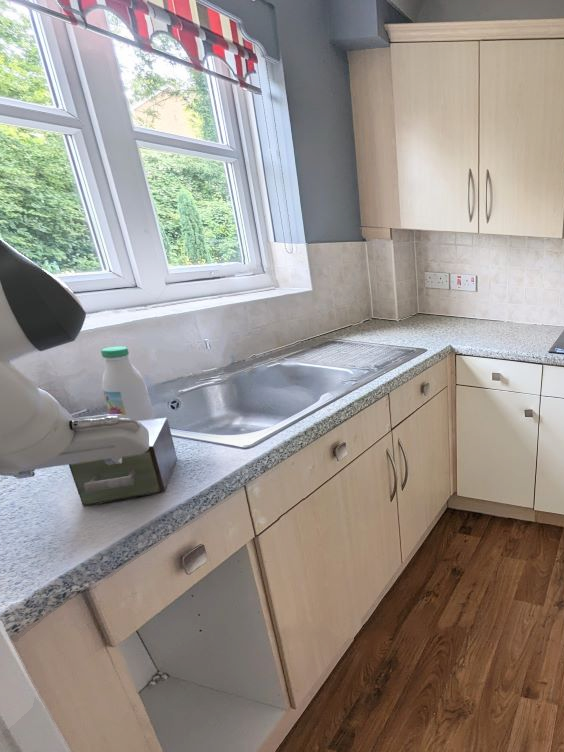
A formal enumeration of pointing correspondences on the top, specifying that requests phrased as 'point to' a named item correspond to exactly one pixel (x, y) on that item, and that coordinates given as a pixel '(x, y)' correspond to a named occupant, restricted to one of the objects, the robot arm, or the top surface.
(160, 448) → the cabinet
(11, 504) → the top surface
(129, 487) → the drawer
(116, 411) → the milk bottle
